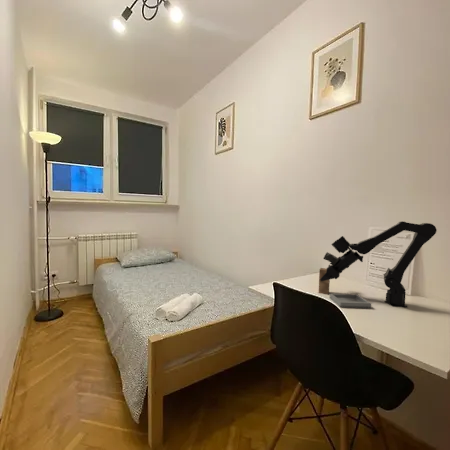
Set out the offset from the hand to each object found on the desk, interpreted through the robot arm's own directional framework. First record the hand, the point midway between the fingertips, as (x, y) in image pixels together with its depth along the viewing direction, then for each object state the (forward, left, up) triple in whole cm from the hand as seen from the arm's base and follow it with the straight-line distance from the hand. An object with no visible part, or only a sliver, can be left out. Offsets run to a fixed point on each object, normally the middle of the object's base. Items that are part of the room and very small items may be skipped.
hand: (321, 279), depth 129 cm
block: (-1, +1, -7) cm, 7 cm away
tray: (-7, +15, -7) cm, 18 cm away
